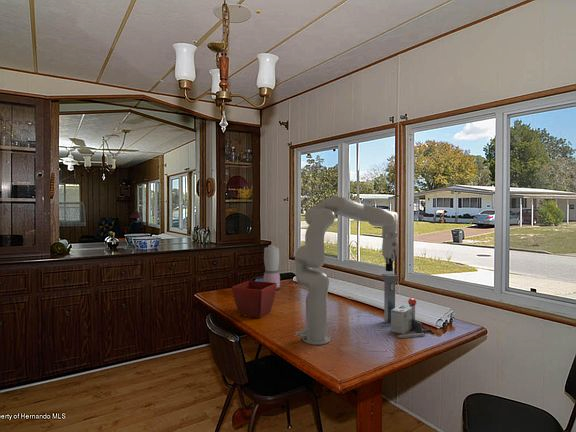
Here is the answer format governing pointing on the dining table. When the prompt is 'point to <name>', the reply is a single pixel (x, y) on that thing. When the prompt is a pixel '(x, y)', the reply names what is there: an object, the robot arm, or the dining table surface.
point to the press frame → (390, 304)
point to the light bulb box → (401, 319)
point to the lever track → (427, 330)
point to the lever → (412, 304)
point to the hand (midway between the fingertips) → (389, 270)
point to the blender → (271, 265)
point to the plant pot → (254, 297)
